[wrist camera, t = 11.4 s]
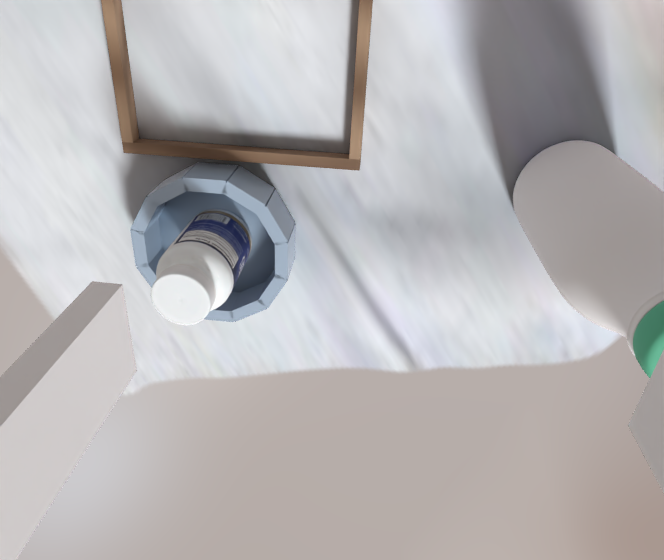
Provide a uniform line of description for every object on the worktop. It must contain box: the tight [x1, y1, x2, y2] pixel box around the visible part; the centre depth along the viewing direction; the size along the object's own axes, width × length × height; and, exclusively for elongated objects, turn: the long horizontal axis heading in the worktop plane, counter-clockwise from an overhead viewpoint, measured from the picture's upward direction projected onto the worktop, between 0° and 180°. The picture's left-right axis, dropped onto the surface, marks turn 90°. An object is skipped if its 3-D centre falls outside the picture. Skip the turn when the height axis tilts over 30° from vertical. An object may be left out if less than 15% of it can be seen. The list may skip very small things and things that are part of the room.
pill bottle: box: [151, 209, 252, 325], centre depth 39 cm, size 5×5×10 cm
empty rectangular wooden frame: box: [101, 0, 373, 170], centre depth 36 cm, size 13×18×1 cm
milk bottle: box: [513, 140, 664, 378], centre depth 30 cm, size 8×8×20 cm
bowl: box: [130, 162, 295, 322], centre depth 42 cm, size 12×12×4 cm
